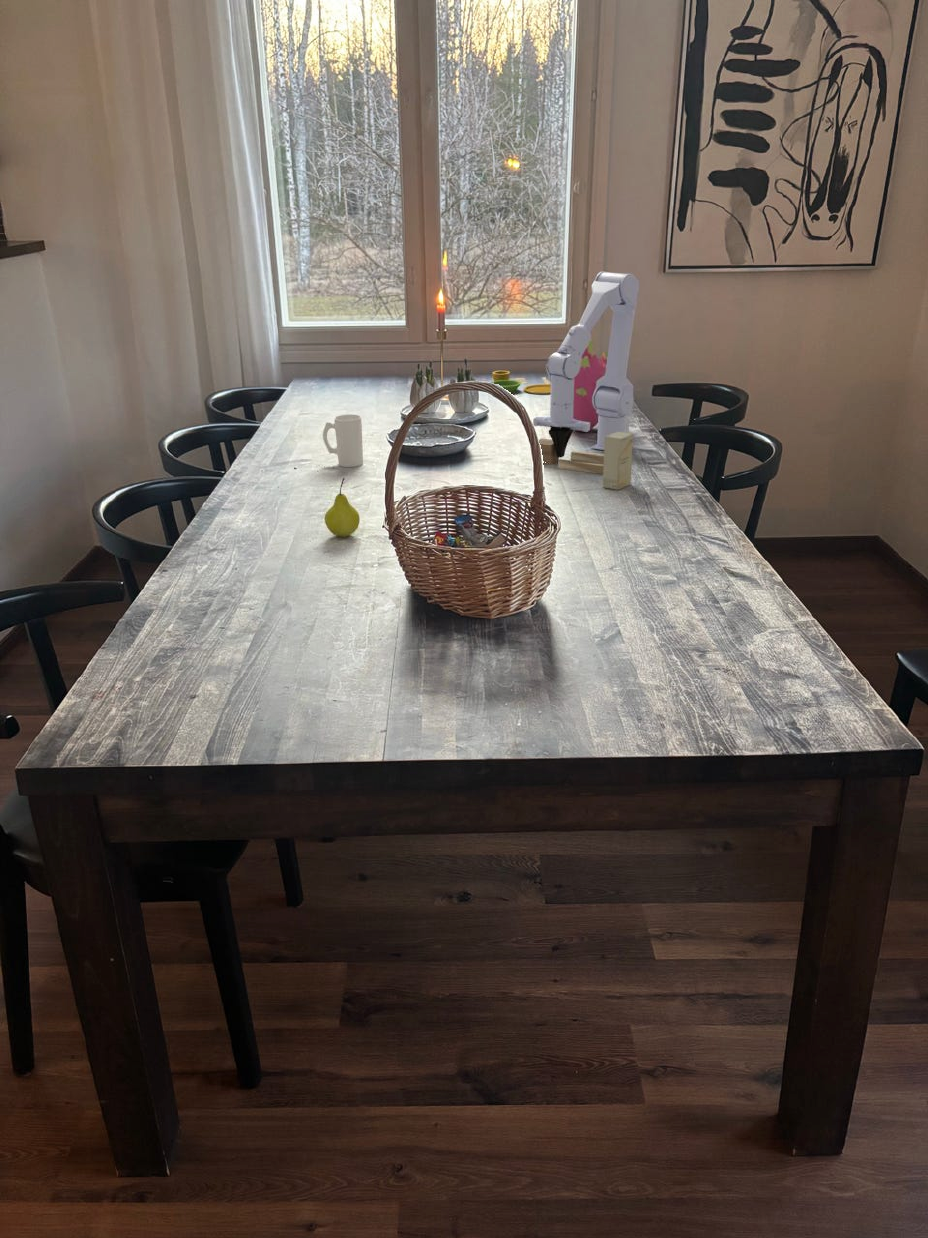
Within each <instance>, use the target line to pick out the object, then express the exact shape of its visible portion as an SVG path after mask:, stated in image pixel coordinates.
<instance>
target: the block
mask: <svg viewBox="0 0 928 1238" xmlns="http://www.w3.org/2000/svg"><path fill="white" fill-rule="evenodd" d="M538 440H539V443H540V445H541V449H542V455H543V461H544V464H543V465H553V464H554V463H555V462H557V461H558V460H560V458H559V457H557V454H556V450H555V446H554V443H553V441H552V438H551V439H550V438H542V437H541V438H540V439H538ZM545 462H546V464H545Z"/></svg>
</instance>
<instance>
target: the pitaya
mask: <svg viewBox="0 0 928 1238" xmlns="http://www.w3.org/2000/svg"><path fill="white" fill-rule="evenodd" d="M579 322H580V321H578V322H577V323H576V325H578V324H579ZM581 357H582V361H581V363H580V370H579V373H578V374H577V375H576V376H575V377H574V405H573V419H575V420H579V421H583V422H590V430H592V429H594V427H595V426H597V425H598V413H596V409H595V408H594V407H593V404H592V397H593V393H594V391H595V389H596V384H597V381H598V380H600V379H601V378H602V377H603V376H605V372H606V364H607V357H608V353H607V351H603V352H602V354H601V358H598V357H597V355H596V352H595V349H594V340H593V339H591V341H590V342H589V344H588V346H587V348H586V349H585V351H584V353H583V355H582V356H581ZM609 388H611V387H609ZM576 431H578V432H584V431H581V430H576Z"/></svg>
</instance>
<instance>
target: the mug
mask: <svg viewBox="0 0 928 1238" xmlns="http://www.w3.org/2000/svg"><path fill="white" fill-rule="evenodd" d="M333 420H334V423H332V422H331V421H326V422H325V425H324V428H323V432H322V440H323V442H324V445H325V447H326V449H327V451H328V453H329V454H334V455H337V459H338V460H337V461H338V466H339V467H344V468H356V467H359V466H362V465H363V464H364V455H363V453H364V452H363V451H364V450H363V425H362V416H361V415H359V414H353V413H352V414H351V413H350V414H340V415H336V416H334V417H333ZM330 429H334V431H335V439H336V441H335V442H336V447H333V446H331V445H332V444H330V443H329V442H330V441H329V439H328V432H329V430H330Z"/></svg>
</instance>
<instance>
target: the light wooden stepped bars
mask: <svg viewBox="0 0 928 1238" xmlns="http://www.w3.org/2000/svg"><path fill="white" fill-rule="evenodd" d="M557 461H558V462H557V463H558V464H557V468H558V469H562V470H568V471H577V472H585V473H590V474H591V473H593V474H599V475H600V474H601V475H603V467H604V454H600V453H593V452H584V451H574V450H573V451H571V452H570V460H567V459H562V458H559V460H557Z"/></svg>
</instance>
